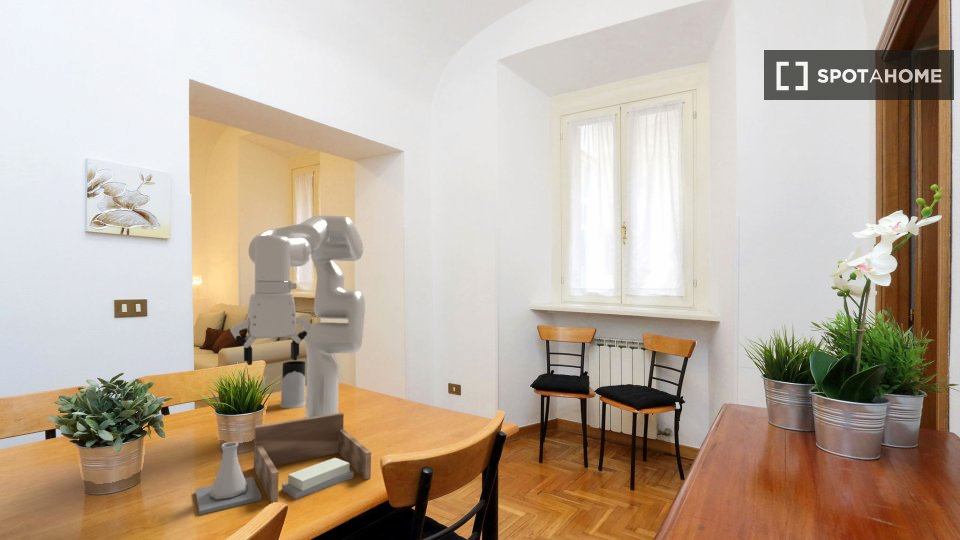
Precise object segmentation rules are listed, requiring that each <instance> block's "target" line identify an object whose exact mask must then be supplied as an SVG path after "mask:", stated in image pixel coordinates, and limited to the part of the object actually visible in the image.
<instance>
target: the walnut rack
mask: <svg viewBox="0 0 960 540" xmlns="http://www.w3.org/2000/svg"><path fill="white" fill-rule="evenodd" d="M334 454H339V455H340V456H341V457H342V458H343V459H344V461H345V462H348V463H350V467H352V468H353V469H354V470H355V471H357V473H358V474H359V475H360V476H362V478H363V479H365V480H370V479H371V478H372V474H371V473H372V470H371V469H372V451H370V450H369V449H368V448H367V447H365V445H363V444H362V443H361V442H360V441H359V440H357V439H356V438H354V437H353V436H352V435H351V434H350V433H349V432H347V430H345V429H344V413H343V412H338V413H335V414H328V415H322V416H315V417H309V418H305V417H302V418H298V419H296V418H295V419H291V420H285V421H279V422H272V423H266V424H259V425H254V439H253V470H254V471H255V473H256V476H257V477H258V479H259V482H260V483H261V485H262V487H263V490H264V491H265V493H266V495H267V497H268V499H269V501H270V503H271V504H273V503H272V502H274V503H278V502H279V471H278V469H277V467H276V466H280V465H281V466H282V465H286V464H291V463H297V462H301V461H306V460H310V459H315V458H320V457H324V456H329V455H334Z"/></svg>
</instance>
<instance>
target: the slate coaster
mask: <svg viewBox="0 0 960 540" xmlns="http://www.w3.org/2000/svg"><path fill="white" fill-rule="evenodd" d="M244 478H245V480H246V483H247V486H248V487H247V490H246V492H245V493H242V494H240V495H237V496H235V497H232V498H224V499H217V500H216V499H214V498H213V497H211V496H209V494H210V492H211V489H212V487H213V484H212V485H208V486H204V487H198V488H195V492H194V494H195V499H196V503H197V504H196V505H197V508H198V509H197V511H198V515H199V516H201V515H205V514H210V513H213V512H217V511H222V510H226V509H230V508H234V507H238V506H243V505H246V504H250V503H251V504H252V503H254V502H258V501H259V502H260V501H263V499H262V498H263V496H262V493H261V492H260V489H259V487H258V485H257V483H256V481H255V479H254V477H253V476H250V477H244Z"/></svg>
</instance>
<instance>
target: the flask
mask: <svg viewBox="0 0 960 540" xmlns="http://www.w3.org/2000/svg"><path fill="white" fill-rule="evenodd" d="M238 446H239V441H238V442H237V441H228V442H224V443H222V444H221V447H220V449H222V456H221V462H220V466H219V468H218V472H217V474H216V477H215V480H214V481H213V484H212V485H213V487H212V489H211V492H210V494H209V496H211V497H213V498H214V499H216V500H217V499H224V498H232V497H235V496H237V495H240V494H242V493H245V492H246V490H247V487H248V486H247V483H246V480H245V478H246V477H245V476H244V473H243V471H242V467H241V465H240V463H239V458H238V451H237V450H238Z"/></svg>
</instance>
